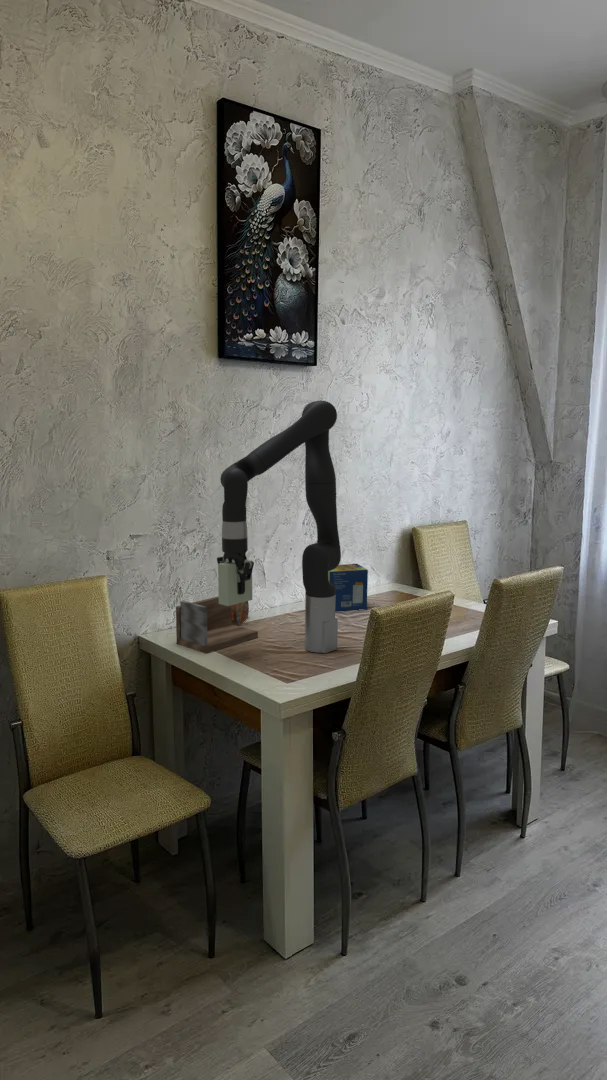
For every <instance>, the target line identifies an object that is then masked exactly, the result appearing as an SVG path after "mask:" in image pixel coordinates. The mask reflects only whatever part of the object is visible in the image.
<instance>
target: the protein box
mask: <svg viewBox="0 0 607 1080" xmlns="http://www.w3.org/2000/svg"><path fill="white" fill-rule="evenodd" d="M368 573H369V569H367V568H365V567H363V566H362V565H360V564H359V563H348V564H347V563H346V564H339V565H338V566H337V567H336V568H335V569H333V570H331V571H328V580H329V583H332V584H334V585H335V588H336V597H335V611H344V612H348V611H347V610H358V611H360V610H359V609H366V610H365V611H367V609H368V580H369V578H368V577H369V574H368Z"/></svg>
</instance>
